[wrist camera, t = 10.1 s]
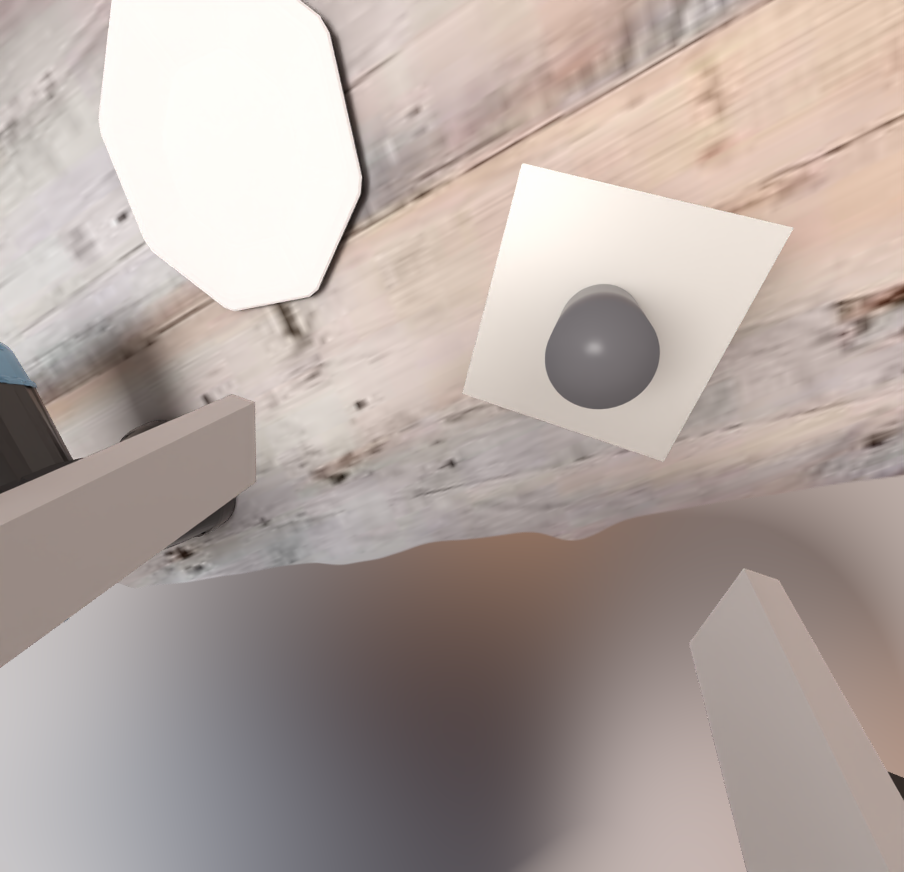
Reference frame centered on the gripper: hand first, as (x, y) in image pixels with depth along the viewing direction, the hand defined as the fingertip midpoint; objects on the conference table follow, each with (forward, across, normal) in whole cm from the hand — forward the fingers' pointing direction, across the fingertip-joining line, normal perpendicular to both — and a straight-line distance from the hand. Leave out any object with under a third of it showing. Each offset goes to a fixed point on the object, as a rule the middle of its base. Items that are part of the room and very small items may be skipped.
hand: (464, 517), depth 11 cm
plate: (+26, -29, +7) cm, 40 cm away
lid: (+15, +3, +4) cm, 16 cm away
